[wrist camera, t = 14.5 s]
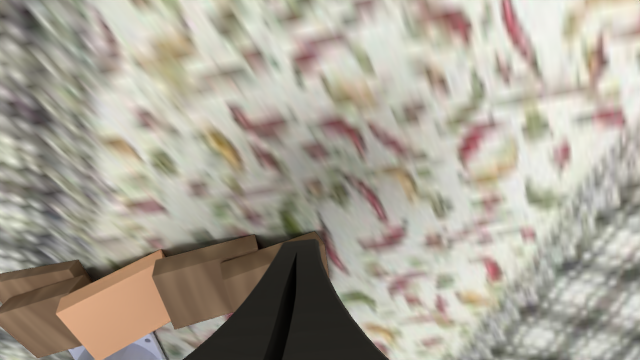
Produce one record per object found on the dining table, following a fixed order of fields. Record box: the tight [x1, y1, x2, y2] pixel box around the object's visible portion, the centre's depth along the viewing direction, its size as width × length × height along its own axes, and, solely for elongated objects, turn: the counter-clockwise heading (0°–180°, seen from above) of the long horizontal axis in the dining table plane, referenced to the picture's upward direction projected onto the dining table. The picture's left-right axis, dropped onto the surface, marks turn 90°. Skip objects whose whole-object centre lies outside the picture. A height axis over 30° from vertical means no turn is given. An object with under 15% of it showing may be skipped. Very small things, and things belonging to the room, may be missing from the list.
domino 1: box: [0, 260, 93, 304], centre depth 28 cm, size 2×5×7 cm
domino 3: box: [56, 250, 171, 360], centre depth 25 cm, size 2×5×7 cm
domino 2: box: [0, 275, 91, 358], centre depth 26 cm, size 2×5×7 cm
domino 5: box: [220, 231, 329, 312], centre depth 24 cm, size 2×5×7 cm
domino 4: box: [152, 234, 258, 329], centre depth 25 cm, size 2×5×7 cm
